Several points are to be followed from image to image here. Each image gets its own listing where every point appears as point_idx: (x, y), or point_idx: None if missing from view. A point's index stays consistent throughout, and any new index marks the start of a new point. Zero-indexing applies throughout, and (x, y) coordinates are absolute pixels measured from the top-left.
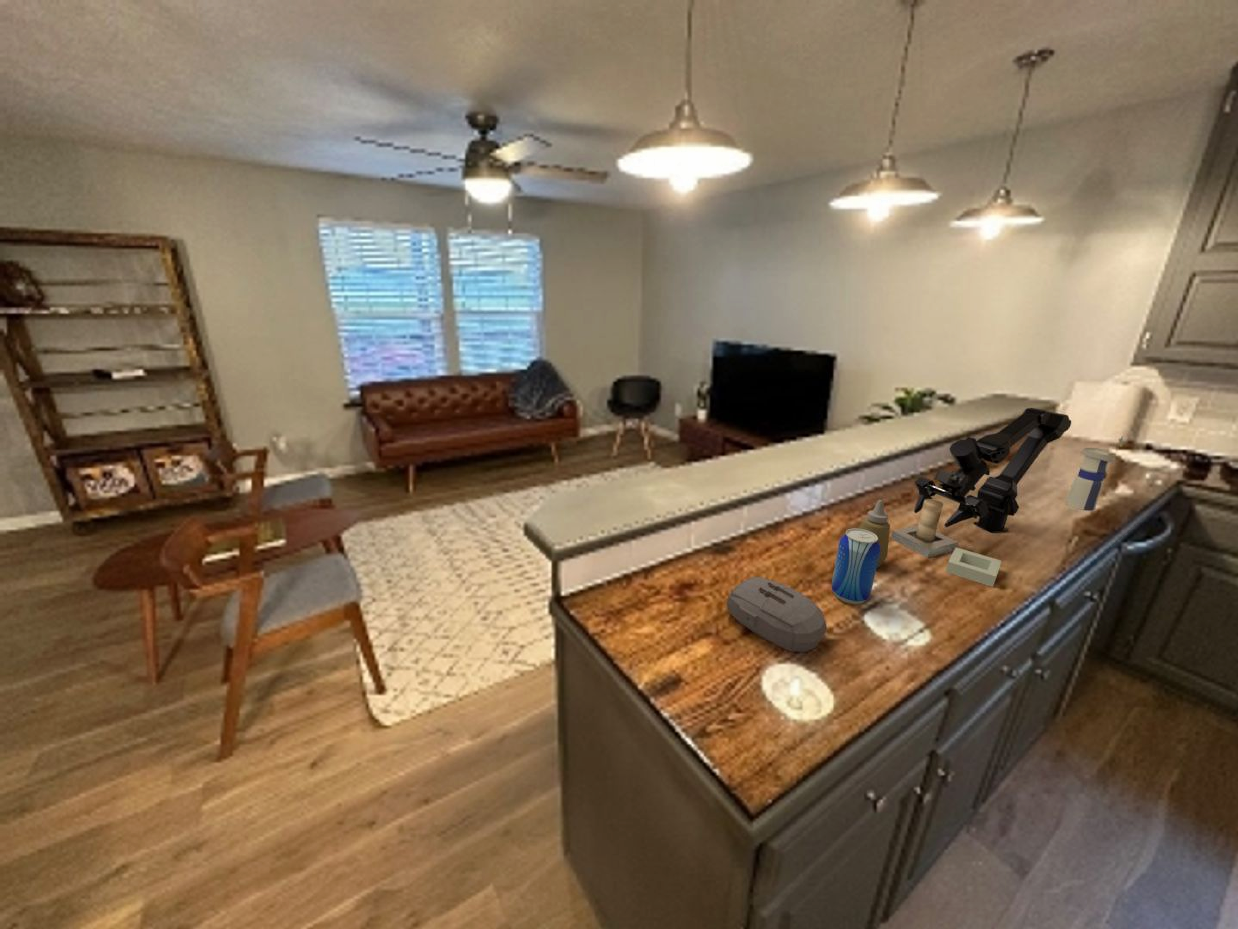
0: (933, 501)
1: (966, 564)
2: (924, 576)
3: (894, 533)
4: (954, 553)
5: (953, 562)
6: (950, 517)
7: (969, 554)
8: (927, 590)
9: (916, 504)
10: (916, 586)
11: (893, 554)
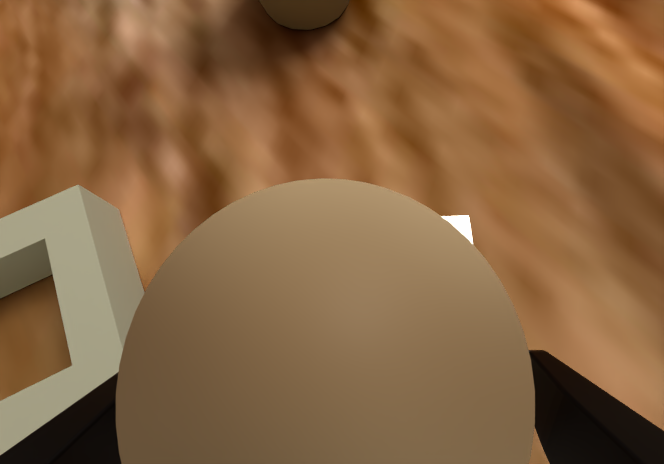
0: (363, 422)
1: (7, 247)
2: (148, 107)
3: (447, 219)
4: (100, 300)
5: (58, 201)
6: (70, 435)
7: (39, 384)
8: (94, 51)
9: (632, 415)
10: (128, 38)
11: (319, 126)
